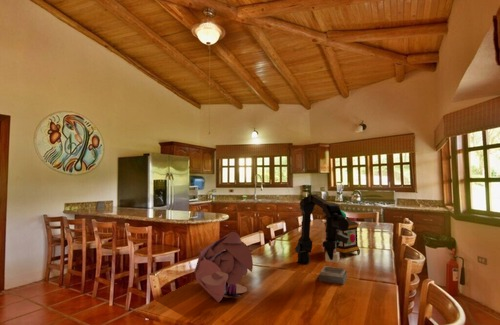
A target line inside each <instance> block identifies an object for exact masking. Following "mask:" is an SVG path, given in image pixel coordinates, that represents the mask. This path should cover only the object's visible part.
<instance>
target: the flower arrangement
mask: <svg viewBox="0 0 500 325" xmlns="http://www.w3.org/2000/svg"><path fill="white" fill-rule="evenodd" d="M253 264H254V262H253V256H252V252H251V250H250V248H249V246H248V245H247V244H246V243H245V242H244V241H243V240H242V239H241V237H240V235H239V233H238V232H236V231H230V232H229V233H228V234H226V235H225V236H223V237H222V238H220V239H218V240H214V241H213V242H212V243H210V244H209V245H208V246H206V247H205V248H204V249H202V250H201V251H199V255H198V258H197V262H196V264H195V269H194V273H193V274H195V280H196V282H197V283H198V284H199V285H200V286H201V287H202V288H203V289H204V290H205V291H206V292H207V293H208V294H209V295H210V296H211V297H212V298H213V299H214V300H215V301H216V302H217V303H220V302H221V301H222V299H224V298H230V299H231V298H233V299H235V298H240V297H241V295H240V294H244V293H246V292H247V291H248V288H247V287H246V286H243V285H241V284H239V283H241V281H242V280H243V278H244V276H247V274H248V271H250V272H251V273H253V267H254V266H253ZM223 297H224V298H223Z"/></svg>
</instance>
